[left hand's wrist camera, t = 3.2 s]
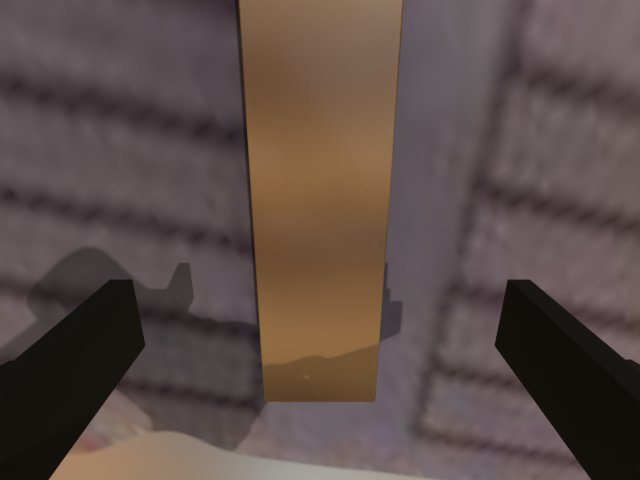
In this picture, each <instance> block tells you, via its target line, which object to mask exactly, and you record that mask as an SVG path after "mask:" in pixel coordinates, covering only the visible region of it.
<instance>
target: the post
mask: <svg viewBox="0 0 640 480" xmlns="http://www.w3.org/2000/svg"><path fill="white" fill-rule="evenodd" d="M403 3H404V0H239V15H240V31H241V46H242V62H243V77H244V93H245V108H246V124H247V139H248V155H249V170H250V186H251V201H252V217H253V232H254V248H255V263H256V279H257V294H258V310H259V325H260V341H261V356H262V372H263V387H264V401H265V402H375V396H376V382H377V368H378V354H379V339H380V325H381V311H382V297H383V283H384V269H385V255H386V241H387V227H388V213H389V199H390V185H391V171H392V157H393V143H394V129H395V115H396V101H397V87H398V73H399V59H400V45H401V31H402V17H403Z"/></svg>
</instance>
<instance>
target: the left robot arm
mask: <svg viewBox="0 0 640 480" xmlns="http://www.w3.org/2000/svg"><path fill="white" fill-rule="evenodd" d="M144 347H145V341H144V336H143V331H142V326H141V321H140V316H139V311H138V306H137V301H136V296H135V291H134V286H133V281H132V280H109V281H108V282H107V283H106V284H104V285H103V286H102V287H101V288H100V289H99V290H97V291H96V292H95V293H94V294H93V295H91V296H90V297H89V298H88V299H87V300H85V301H84V302H83V303H82V304H81V305H79V306H78V307H77V308H76V309H75V310H74V311H72V312H71V313H70V314H69V315H68V316H66V317H65V318H64V319H63V320H62V321H60V322H59V323H58V324H57V325H56V326H54V327H53V328H52V329H51V330H50V331H48V332H47V333H46V334H45V335H44V336H43V337H41V338H40V339H39V340H38V341H37V342H35V343H34V344H33V345H32V346H31V347H29V348H28V349H27V350H26V351H25V352H23V353H22V354H21V355H20V356H19V357H17V358H16V359H15V360H14V361H8V362H7V363H5V364H3V365H1V366H0V480H49V478H50V477H51V476H52V474H53V473H54V472H55V470H56V469H57V467H58V466H59V465H60V463H61V462H62V460H63V459H64V458H65V456H66V455H67V453H68V452H69V451H70V449H71V448H72V447H73V445H74V444H75V442H76V441H77V440H78V438H79V437H80V435H81V434H82V433H83V431H84V430H85V429H86V427H87V426H88V424H89V423H90V422H91V420H92V419H93V417H94V416H95V415H96V413H97V412H98V411H99V409H100V408H101V406H102V405H103V404H104V402H105V401H106V399H107V398H108V397H109V395H110V394H111V393H112V391H113V390H114V388H115V387H116V386H117V384H118V383H119V381H120V380H121V379H122V377H123V376H124V375H125V373H126V372H127V370H128V369H129V368H130V366H131V365H132V363H133V362H134V361H135V359H136V358H137V357H138V355H139V354H140V352H141V351H142V350H143V348H144ZM495 347H496V348H497V350H498V351H499V352H500V354H501V355H502V357H503V358H504V359H505V361H506V362H507V363H508V365H509V366H510V368H511V369H512V370H513V372H514V373H515V375H516V376H517V377H518V379H519V380H520V381H521V383H522V384H523V386H524V387H525V388H526V390H527V391H528V393H529V394H530V395H531V397H532V398H533V399H534V401H535V402H536V404H537V405H538V406H539V408H540V409H541V411H542V412H543V413H544V415H545V416H546V417H547V419H548V420H549V422H550V423H551V424H552V426H553V427H554V429H555V430H556V431H557V433H558V434H559V435H560V437H561V438H562V440H563V441H564V442H565V444H566V445H567V447H568V448H569V449H570V451H571V452H572V453H573V455H574V456H575V458H576V459H577V460H578V462H579V463H580V465H581V466H582V467H583V469H584V470H585V472H586V473H587V474H588V476H589V477H590V478H591V480H640V364H638V363H636V362H634V361H633V360H625V359H624V358H623V357H621V356H620V355H619V354H618V353H617V352H615V351H614V350H613V349H612V348H611V347H609V346H608V345H607V344H606V343H605V342H603V341H602V340H601V339H600V338H599V337H597V336H596V335H595V334H594V333H593V332H592V331H590V330H589V329H588V328H587V327H586V326H584V325H583V324H582V323H581V322H580V321H578V320H577V319H576V318H575V317H574V316H572V315H571V314H570V313H569V312H568V311H566V310H565V309H564V308H563V307H562V306H561V305H559V304H558V303H557V302H556V301H555V300H553V299H552V298H551V297H550V296H549V295H547V294H546V293H545V292H544V291H543V290H541V289H540V288H539V287H538V286H537V285H536V284H534V283H533V282H532V281H531V280H508V281H507V286H506V291H505V296H504V301H503V306H502V311H501V316H500V321H499V326H498V331H497V336H496V341H495Z"/></svg>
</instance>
